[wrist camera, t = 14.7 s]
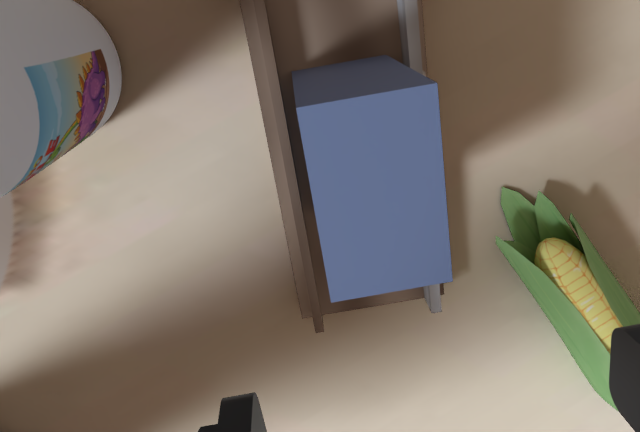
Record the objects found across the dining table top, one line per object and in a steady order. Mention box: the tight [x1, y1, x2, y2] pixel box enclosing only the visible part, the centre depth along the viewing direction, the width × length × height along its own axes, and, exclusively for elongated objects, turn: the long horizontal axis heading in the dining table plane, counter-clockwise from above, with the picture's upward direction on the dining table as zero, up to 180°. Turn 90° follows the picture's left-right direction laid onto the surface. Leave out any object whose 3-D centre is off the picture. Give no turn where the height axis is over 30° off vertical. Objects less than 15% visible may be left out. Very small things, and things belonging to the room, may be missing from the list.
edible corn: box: [496, 187, 640, 411], centre depth 34 cm, size 5×20×5 cm, turn 38°
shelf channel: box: [240, 0, 444, 333], centre depth 29 cm, size 9×22×3 cm, turn 9°
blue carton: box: [291, 55, 453, 303], centre depth 25 cm, size 5×8×10 cm, turn 9°
